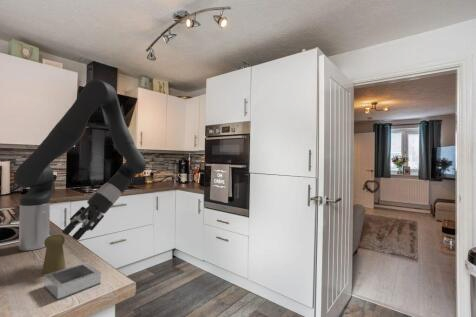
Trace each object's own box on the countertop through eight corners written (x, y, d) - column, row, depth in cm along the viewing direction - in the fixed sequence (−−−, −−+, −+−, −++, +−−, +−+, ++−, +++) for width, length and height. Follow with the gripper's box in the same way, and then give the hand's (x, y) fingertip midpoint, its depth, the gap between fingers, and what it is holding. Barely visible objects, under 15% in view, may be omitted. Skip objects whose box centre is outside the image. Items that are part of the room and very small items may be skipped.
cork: (62, 264, 82) (63, 231, 82) (68, 269, 78) (68, 235, 78) (39, 270, 77) (40, 236, 77) (44, 276, 73) (45, 240, 73)
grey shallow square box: (44, 286, 67) (44, 274, 67) (85, 272, 76) (85, 262, 76) (57, 300, 61) (57, 287, 61) (100, 283, 70) (100, 272, 70)
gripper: (89, 189, 92) (52, 226, 83) (107, 193, 83) (68, 234, 74) (103, 201, 96) (69, 237, 87) (121, 206, 88) (87, 246, 78)
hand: (69, 236), depth 81 cm, fingers open, 8 cm apart
